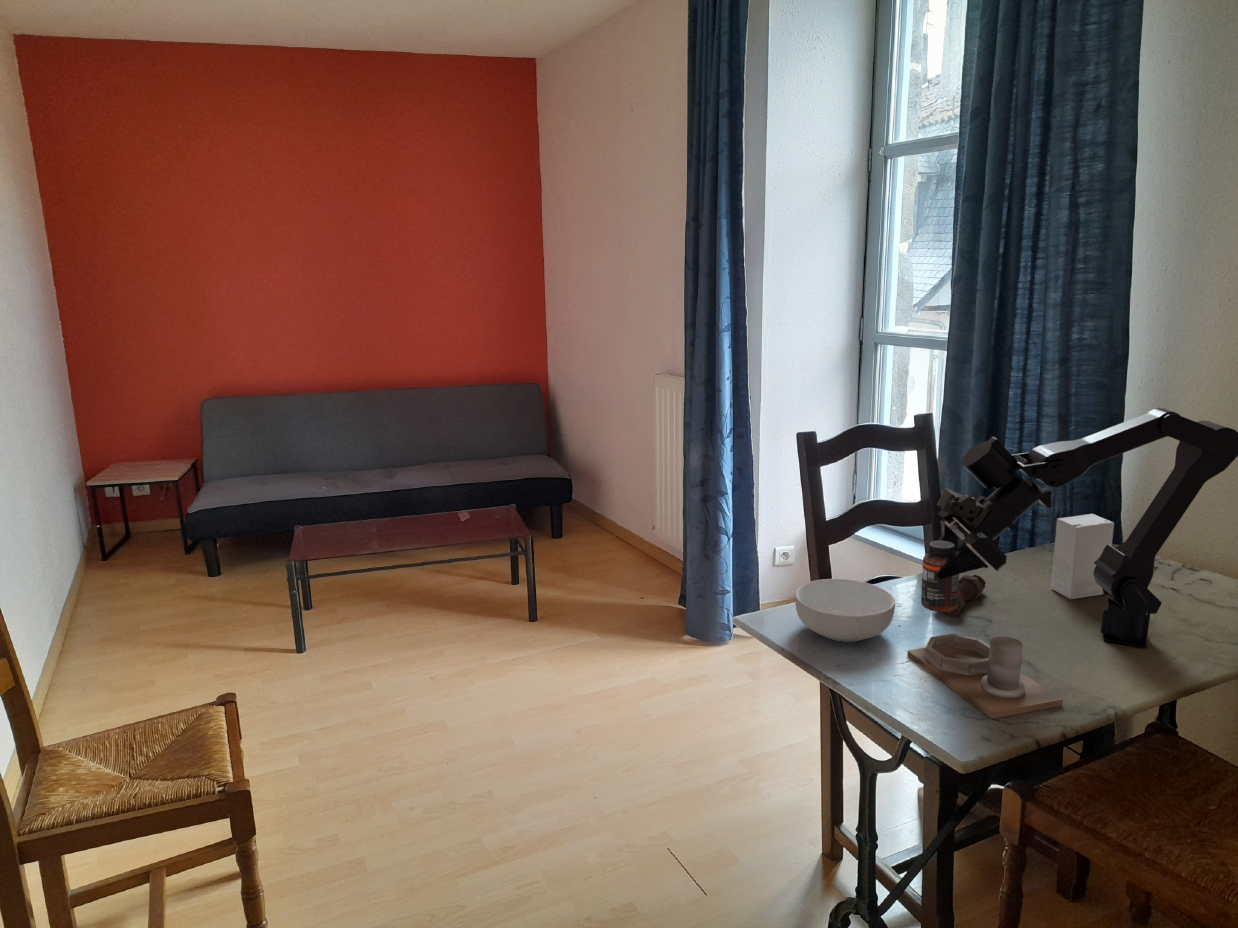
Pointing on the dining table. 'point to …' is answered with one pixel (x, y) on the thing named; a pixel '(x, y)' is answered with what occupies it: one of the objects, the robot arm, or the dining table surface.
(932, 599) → the supplement bottle
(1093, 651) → the dining table surface
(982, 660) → the pin board
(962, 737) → the dining table surface
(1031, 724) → the dining table surface
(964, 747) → the dining table surface
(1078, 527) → the skincare box
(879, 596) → the cereal bowl
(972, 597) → the bolt
